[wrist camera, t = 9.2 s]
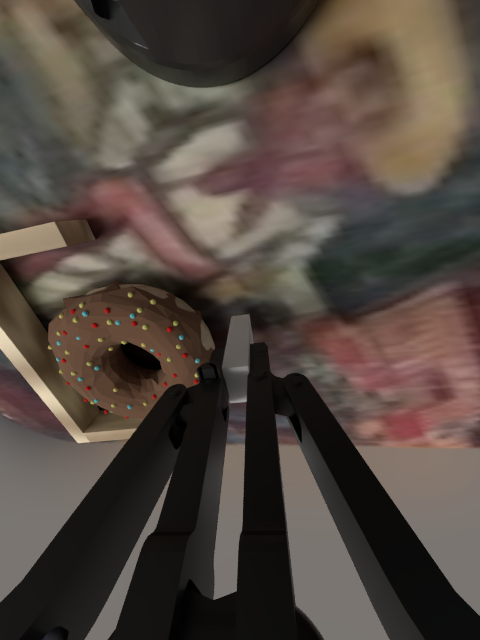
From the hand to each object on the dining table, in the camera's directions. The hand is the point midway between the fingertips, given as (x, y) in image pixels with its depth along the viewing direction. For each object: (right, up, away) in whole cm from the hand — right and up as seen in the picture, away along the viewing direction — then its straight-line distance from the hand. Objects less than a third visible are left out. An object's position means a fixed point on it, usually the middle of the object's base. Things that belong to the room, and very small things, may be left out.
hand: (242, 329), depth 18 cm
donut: (-9, -1, +3) cm, 10 cm away
